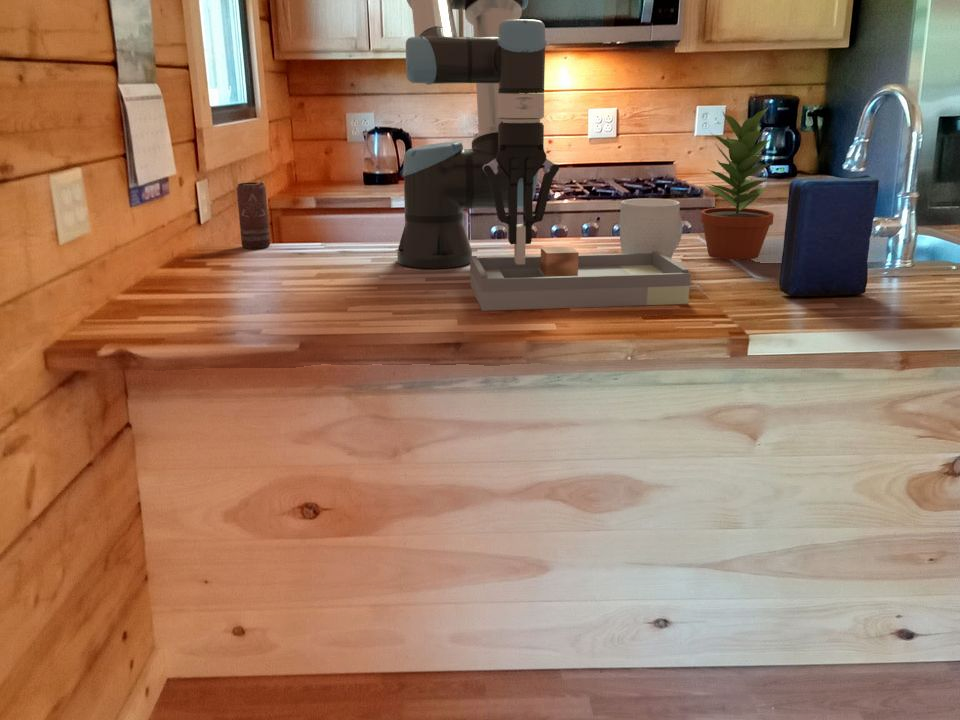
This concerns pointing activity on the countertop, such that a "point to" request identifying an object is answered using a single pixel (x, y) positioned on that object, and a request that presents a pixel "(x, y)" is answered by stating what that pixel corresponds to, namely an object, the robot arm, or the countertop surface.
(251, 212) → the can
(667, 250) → the mug
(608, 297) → the box
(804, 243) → the book
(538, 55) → the robot arm
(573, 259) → the block
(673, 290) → the pad
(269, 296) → the countertop surface
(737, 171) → the potted plant
